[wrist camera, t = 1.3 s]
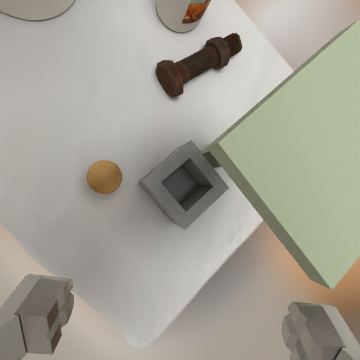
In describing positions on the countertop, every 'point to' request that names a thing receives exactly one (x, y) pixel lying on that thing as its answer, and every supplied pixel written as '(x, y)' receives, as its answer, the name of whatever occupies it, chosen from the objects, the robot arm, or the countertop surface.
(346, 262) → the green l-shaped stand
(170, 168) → the socket
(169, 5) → the milk bottle
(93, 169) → the peg
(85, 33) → the countertop surface
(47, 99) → the countertop surface
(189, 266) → the countertop surface
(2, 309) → the robot arm
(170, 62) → the bolt
